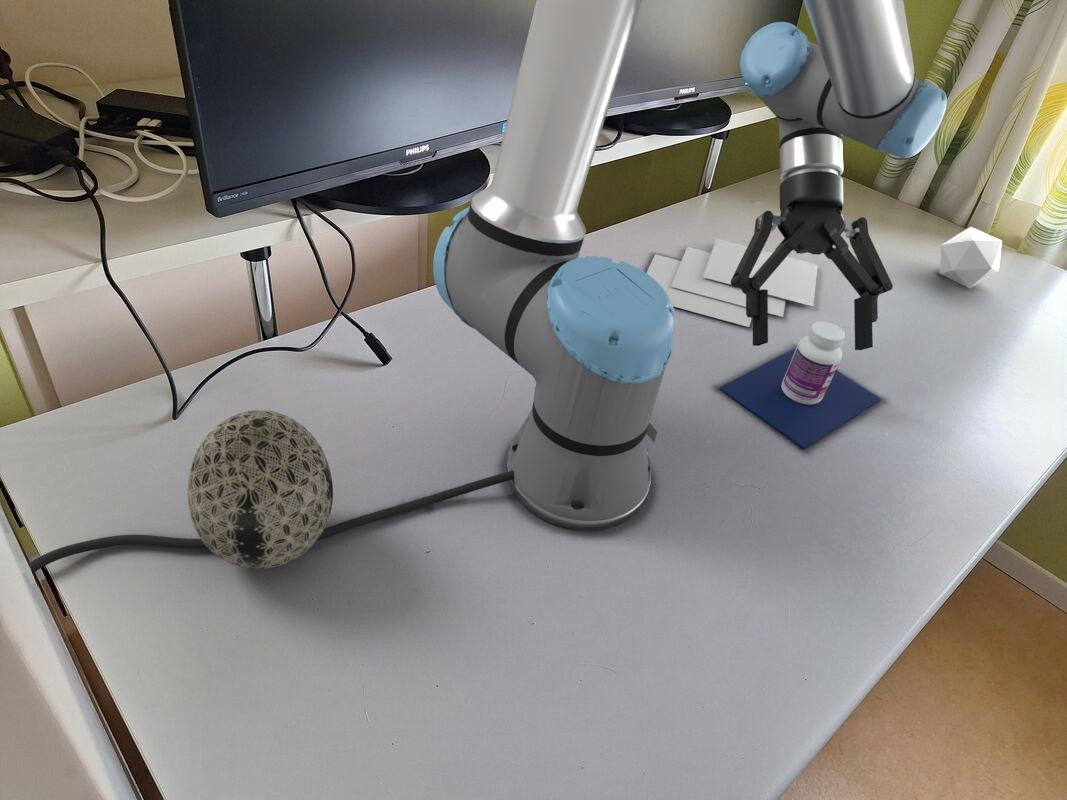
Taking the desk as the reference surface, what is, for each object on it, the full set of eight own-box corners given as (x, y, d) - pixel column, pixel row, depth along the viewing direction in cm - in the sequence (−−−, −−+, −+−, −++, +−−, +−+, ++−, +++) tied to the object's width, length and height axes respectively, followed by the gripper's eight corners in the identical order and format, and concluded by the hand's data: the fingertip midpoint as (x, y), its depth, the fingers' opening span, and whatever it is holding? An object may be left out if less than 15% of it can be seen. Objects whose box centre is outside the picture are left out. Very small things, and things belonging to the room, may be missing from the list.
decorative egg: (220, 496, 74) (193, 374, 64) (344, 499, 75) (336, 381, 65) (186, 598, 65) (149, 475, 55) (327, 599, 66) (315, 479, 57)
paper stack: (808, 343, 106) (810, 339, 105) (635, 296, 110) (636, 292, 110) (816, 268, 123) (817, 264, 123) (666, 229, 128) (667, 226, 127)
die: (995, 289, 127) (997, 228, 126) (1003, 285, 118) (1005, 220, 118) (938, 291, 130) (939, 232, 129) (941, 287, 122) (943, 224, 121)
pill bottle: (824, 410, 94) (854, 347, 88) (781, 401, 95) (807, 338, 89) (820, 384, 98) (848, 322, 92) (779, 375, 99) (804, 313, 93)
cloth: (803, 449, 89) (804, 448, 88) (718, 389, 96) (719, 387, 96) (880, 400, 98) (881, 398, 98) (797, 348, 105) (798, 346, 105)
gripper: (885, 196, 101) (887, 354, 99) (705, 183, 98) (704, 346, 96) (921, 175, 94) (924, 346, 92) (727, 160, 91) (727, 337, 89)
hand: (812, 346), depth 94 cm, fingers open, 13 cm apart
